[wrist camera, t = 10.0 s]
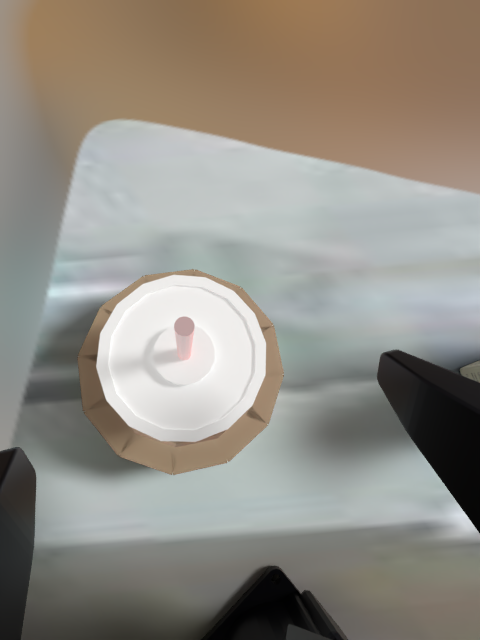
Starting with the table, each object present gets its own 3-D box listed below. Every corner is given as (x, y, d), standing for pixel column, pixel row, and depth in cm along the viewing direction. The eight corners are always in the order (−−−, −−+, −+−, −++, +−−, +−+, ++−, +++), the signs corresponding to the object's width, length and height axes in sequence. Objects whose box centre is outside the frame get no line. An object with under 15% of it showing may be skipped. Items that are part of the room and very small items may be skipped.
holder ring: (170, 500, 20) (167, 518, 17) (59, 361, 21) (36, 352, 18) (299, 381, 23) (318, 377, 20) (196, 260, 24) (198, 236, 20)
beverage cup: (126, 330, 22) (35, 215, 9) (227, 317, 23) (286, 197, 10) (137, 436, 21) (51, 493, 7) (243, 417, 22) (335, 438, 9)
